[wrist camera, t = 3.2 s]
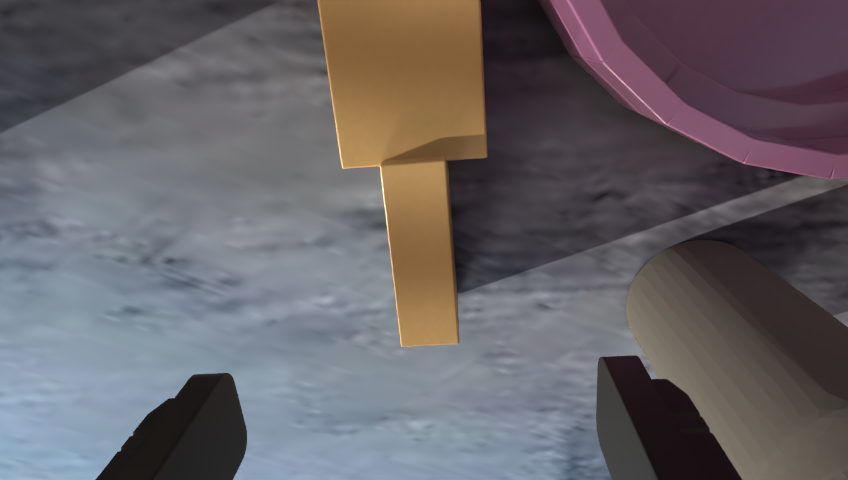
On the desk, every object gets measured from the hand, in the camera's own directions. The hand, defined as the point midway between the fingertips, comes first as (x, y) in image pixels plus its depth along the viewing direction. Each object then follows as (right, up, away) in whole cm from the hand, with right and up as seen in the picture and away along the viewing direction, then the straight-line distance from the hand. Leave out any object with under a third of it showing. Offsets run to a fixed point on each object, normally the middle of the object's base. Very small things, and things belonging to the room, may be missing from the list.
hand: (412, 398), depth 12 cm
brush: (0, +7, +10) cm, 12 cm away
